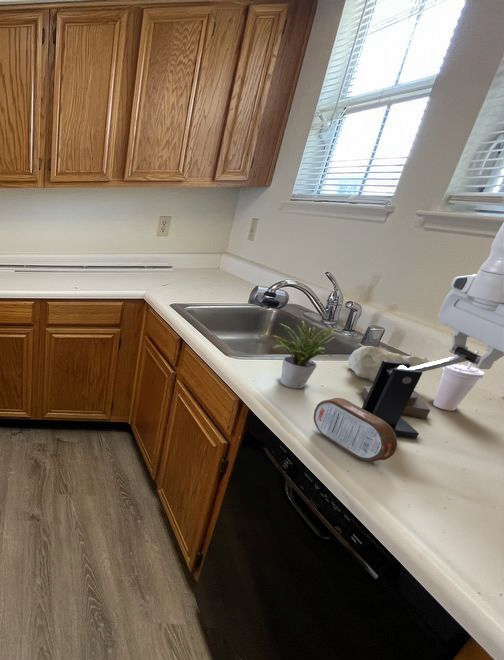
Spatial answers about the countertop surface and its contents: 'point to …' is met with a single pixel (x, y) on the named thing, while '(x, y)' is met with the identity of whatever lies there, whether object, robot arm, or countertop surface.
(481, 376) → the smoothie
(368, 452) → the tin
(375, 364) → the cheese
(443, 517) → the countertop surface
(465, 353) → the lever
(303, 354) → the house plant
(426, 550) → the countertop surface
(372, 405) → the bracket
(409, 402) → the button block
